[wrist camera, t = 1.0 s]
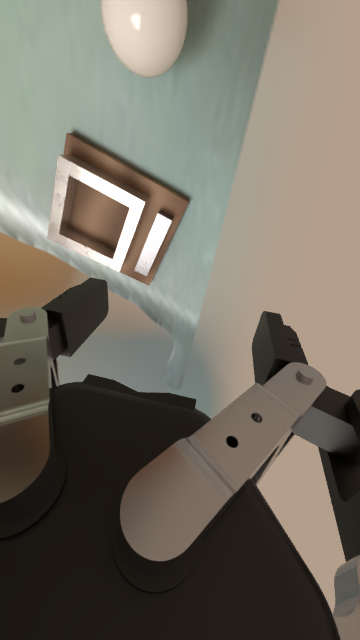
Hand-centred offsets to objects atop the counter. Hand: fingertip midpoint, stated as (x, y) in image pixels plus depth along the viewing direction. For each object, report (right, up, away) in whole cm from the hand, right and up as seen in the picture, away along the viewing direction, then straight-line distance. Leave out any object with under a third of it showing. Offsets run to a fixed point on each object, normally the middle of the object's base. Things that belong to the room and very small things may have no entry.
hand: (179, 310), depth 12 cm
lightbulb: (-2, +27, +12) cm, 30 cm away
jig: (-9, +14, +22) cm, 28 cm away
